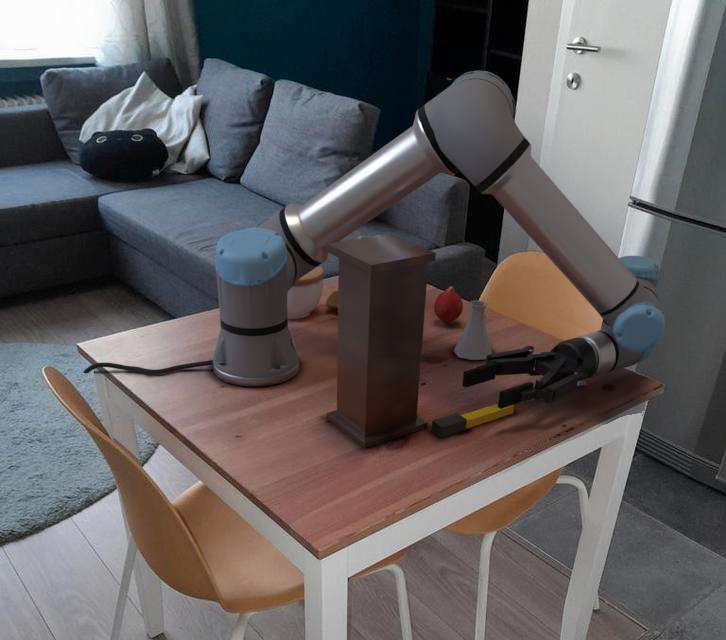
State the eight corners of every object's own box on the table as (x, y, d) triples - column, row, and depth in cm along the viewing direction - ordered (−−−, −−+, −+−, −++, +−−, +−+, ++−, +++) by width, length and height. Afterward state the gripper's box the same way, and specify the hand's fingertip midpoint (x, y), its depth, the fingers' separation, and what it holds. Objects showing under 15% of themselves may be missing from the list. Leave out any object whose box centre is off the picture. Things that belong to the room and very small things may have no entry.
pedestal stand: (386, 400, 134) (394, 231, 119) (427, 428, 127) (441, 251, 111) (326, 418, 128) (326, 243, 113) (365, 448, 121) (371, 265, 105)
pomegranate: (427, 324, 163) (430, 286, 158) (441, 316, 167) (444, 279, 162) (452, 331, 160) (456, 293, 156) (466, 323, 164) (470, 285, 160)
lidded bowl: (336, 313, 166) (336, 261, 160) (289, 329, 159) (288, 274, 153) (297, 297, 174) (296, 247, 168) (250, 311, 166) (248, 258, 160)
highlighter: (503, 407, 133) (505, 397, 132) (514, 414, 131) (516, 403, 130) (430, 431, 126) (431, 420, 125) (441, 438, 124) (442, 427, 123)
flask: (491, 347, 154) (497, 297, 149) (492, 362, 148) (499, 311, 143) (453, 344, 155) (458, 295, 149) (453, 360, 149) (458, 308, 143)
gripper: (624, 401, 132) (524, 438, 121) (535, 357, 146) (438, 386, 135) (634, 360, 128) (531, 393, 117) (541, 318, 142) (442, 344, 131)
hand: (482, 389), depth 126 cm, fingers open, 8 cm apart
